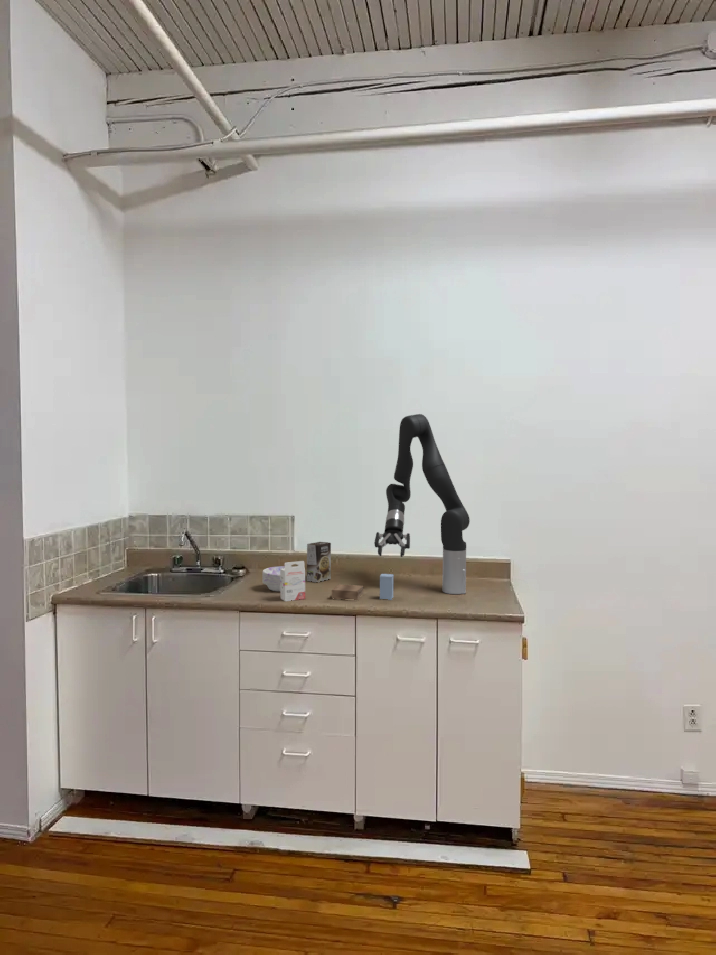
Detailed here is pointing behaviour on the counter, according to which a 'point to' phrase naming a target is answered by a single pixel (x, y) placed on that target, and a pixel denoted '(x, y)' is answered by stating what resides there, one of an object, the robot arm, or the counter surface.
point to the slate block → (386, 586)
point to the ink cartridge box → (292, 581)
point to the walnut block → (347, 592)
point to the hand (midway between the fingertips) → (390, 555)
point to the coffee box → (318, 561)
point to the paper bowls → (272, 577)
